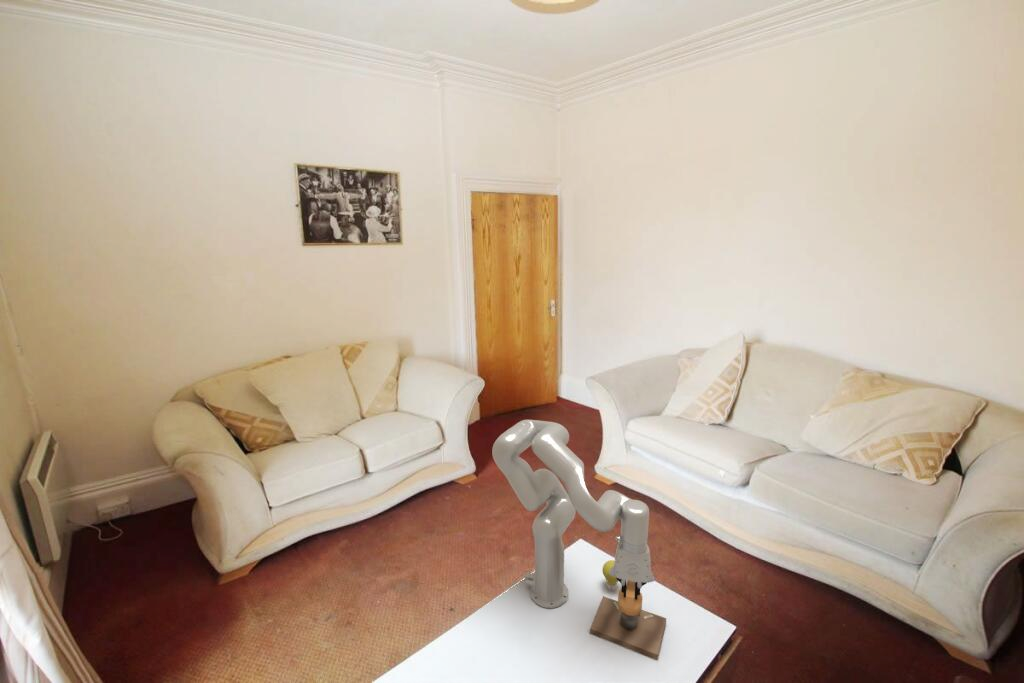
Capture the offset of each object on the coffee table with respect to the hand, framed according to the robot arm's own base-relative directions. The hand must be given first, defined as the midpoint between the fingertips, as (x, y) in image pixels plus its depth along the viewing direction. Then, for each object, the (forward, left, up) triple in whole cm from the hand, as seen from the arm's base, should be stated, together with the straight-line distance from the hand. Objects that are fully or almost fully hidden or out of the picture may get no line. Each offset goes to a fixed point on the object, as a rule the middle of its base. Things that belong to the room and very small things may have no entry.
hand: (630, 594), depth 140 cm
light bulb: (-9, +14, -13) cm, 21 cm away
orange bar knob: (0, 0, -4) cm, 4 cm away
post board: (0, 0, -13) cm, 13 cm away
